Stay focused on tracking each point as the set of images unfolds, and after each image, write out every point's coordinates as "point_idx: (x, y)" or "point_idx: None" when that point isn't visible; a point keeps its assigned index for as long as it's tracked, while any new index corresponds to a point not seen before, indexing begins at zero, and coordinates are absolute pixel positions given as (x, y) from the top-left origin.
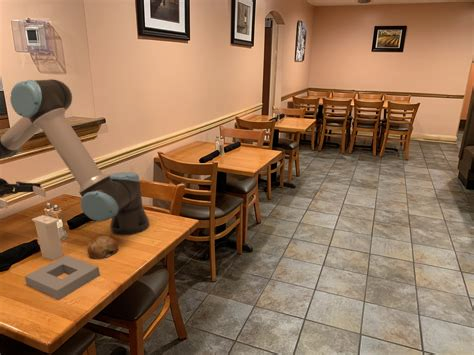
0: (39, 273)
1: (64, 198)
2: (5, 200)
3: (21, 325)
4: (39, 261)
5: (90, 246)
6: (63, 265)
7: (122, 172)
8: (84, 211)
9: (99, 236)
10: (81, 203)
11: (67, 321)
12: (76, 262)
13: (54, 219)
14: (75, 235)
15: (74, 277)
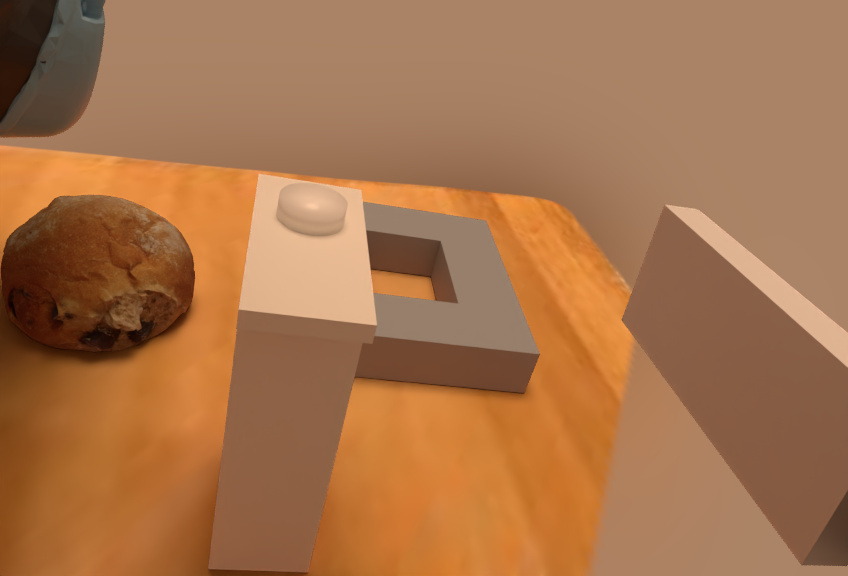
0: (481, 320)
1: None
2: (680, 213)
3: (601, 265)
4: (363, 527)
5: (176, 254)
6: None
7: None
8: (96, 72)
9: (94, 213)
10: (79, 12)
11: (503, 201)
12: None
13: (274, 190)
14: None
15: (403, 217)
